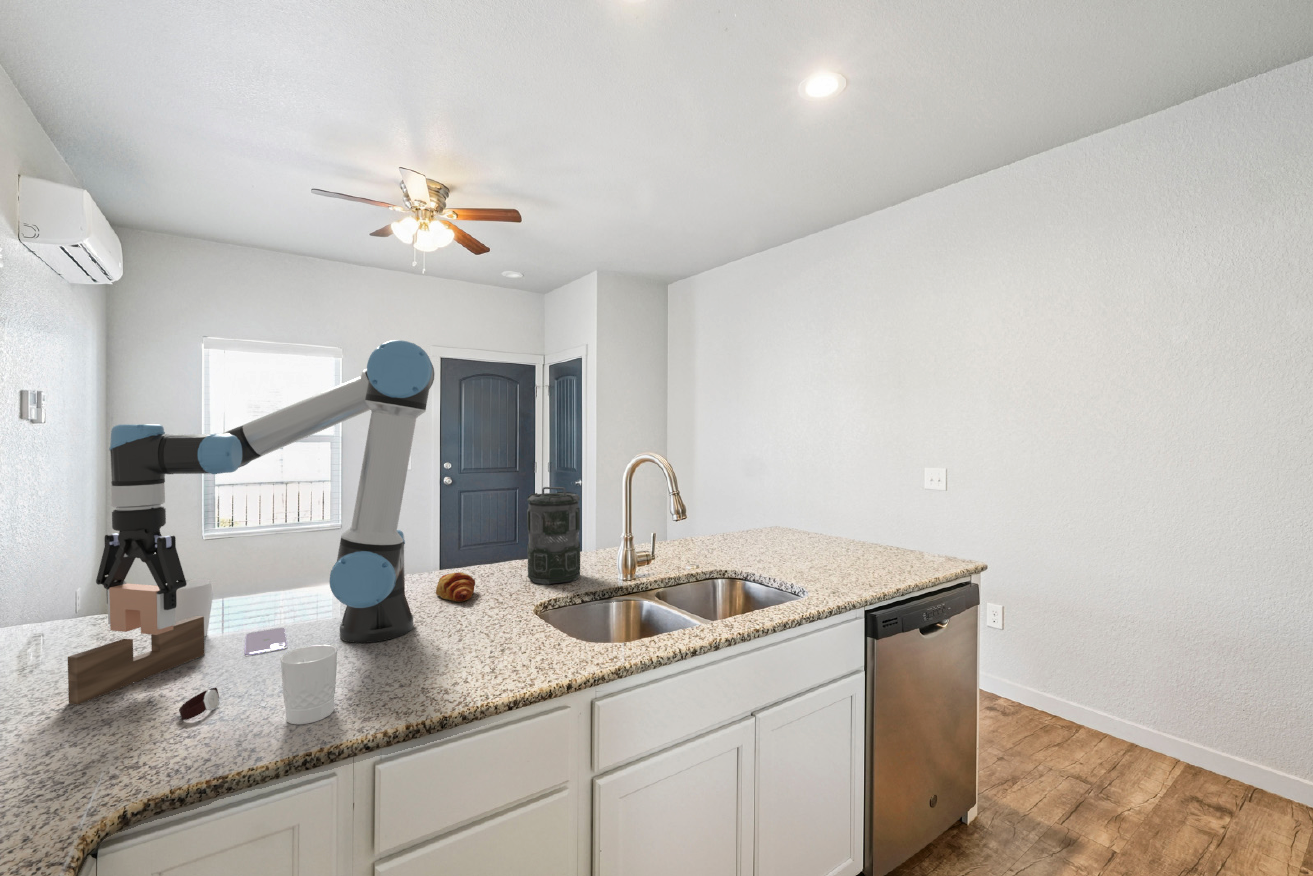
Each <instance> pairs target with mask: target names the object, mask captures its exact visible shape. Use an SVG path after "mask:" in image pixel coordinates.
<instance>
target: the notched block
mask: <svg viewBox="0 0 1313 876" xmlns="http://www.w3.org/2000/svg"><path fill="white" fill-rule="evenodd" d="M159 590H160V589H159V587H158V585H153V584H152V585H150V584H140V583H139V584H138V583H128V582H126V584H123V585H119V586H114V587H110V588H109V591H110V624H109V625H110V626H109V627H110V628H109V630H110V631H112V632H113V631H114V632H122V633H123V632H125V633H126V632H127V633H128V632H129V631H134V630H136V629H139V628H140V634H142V635H143V634H144V635H150V636H151V635H158V634H161V633H164V632H167V631H170V630H173V625H172V626H169V627H166V628H163V629H157V595H156V594H157V592H158V591H159Z"/></svg>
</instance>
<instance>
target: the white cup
mask: <svg viewBox="0 0 1313 876" xmlns="http://www.w3.org/2000/svg"><path fill="white" fill-rule="evenodd" d="M337 660H338V648H337V647H336V646H334V645H331V644H314V645H307V646H303V647H299V648H295V649H293V650H290V651H288V652H286V653H284V654H283V655H282V656H281V657H280V669H281V671H280V672H281V681H282V682H281V683H282V696H283V703H284V708H285V709H284V710H285V721H286V722H287V723H289V724H291V725H307V724H312V723H316V722H318V721H321V720H323V719H326V718H327V717H329V716H330V715H331V714H332V713H333V712H334V710H335V694H336V688H337V687H336V685H337V684H336V683H337V668H338V667H337Z"/></svg>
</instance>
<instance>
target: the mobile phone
mask: <svg viewBox="0 0 1313 876" xmlns="http://www.w3.org/2000/svg"><path fill="white" fill-rule="evenodd" d="M284 628H285V627H278V628H271V629H263V630H259V631H253V632H248V633H246V634H245V636H246V639H244V653H245V654H244V656H245V655H252V656H255V655H254V654H258V653H262V652H266V651H270V650H279V649H283V648H284V647H286V646H288V647H289V644H288V645H287V643H288V640H286V637H287V633H286V634H285V633H284V632H285V630H286V628H285V629H284ZM285 636H286V637H285ZM245 641H246V642H245ZM286 641H287V642H286ZM258 655H259V654H258Z"/></svg>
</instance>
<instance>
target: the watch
mask: <svg viewBox="0 0 1313 876" xmlns="http://www.w3.org/2000/svg"><path fill="white" fill-rule="evenodd" d="M218 690H219V689H218V688H217V687H212V688H207V689H206V690H204V691H202V692H200V693H198V694H196V695H195V696H193V697H192V698H190V699H188V700H186V701H185V702H184V703H183V704H182V705H181V706H180V707H179V709H178V712H179V714H180V717H181V719H182V721H184V720H185V721H186V720H190V719H193V718H195V717H197V716H199V715H201V714H202V713H204V712H205V711H214V710H215V709H217V708H218V706H219V702H220V695H219V691H218Z"/></svg>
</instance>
